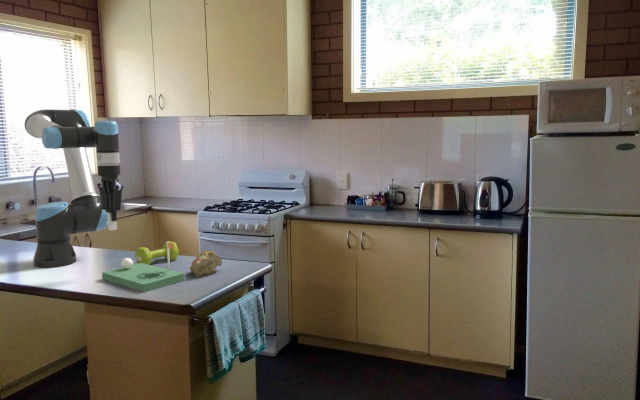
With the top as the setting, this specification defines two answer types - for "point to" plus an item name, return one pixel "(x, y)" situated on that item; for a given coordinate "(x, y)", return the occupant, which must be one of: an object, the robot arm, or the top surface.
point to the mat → (143, 277)
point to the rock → (205, 263)
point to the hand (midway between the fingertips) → (112, 229)
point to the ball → (127, 263)
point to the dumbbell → (155, 254)
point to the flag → (171, 246)
